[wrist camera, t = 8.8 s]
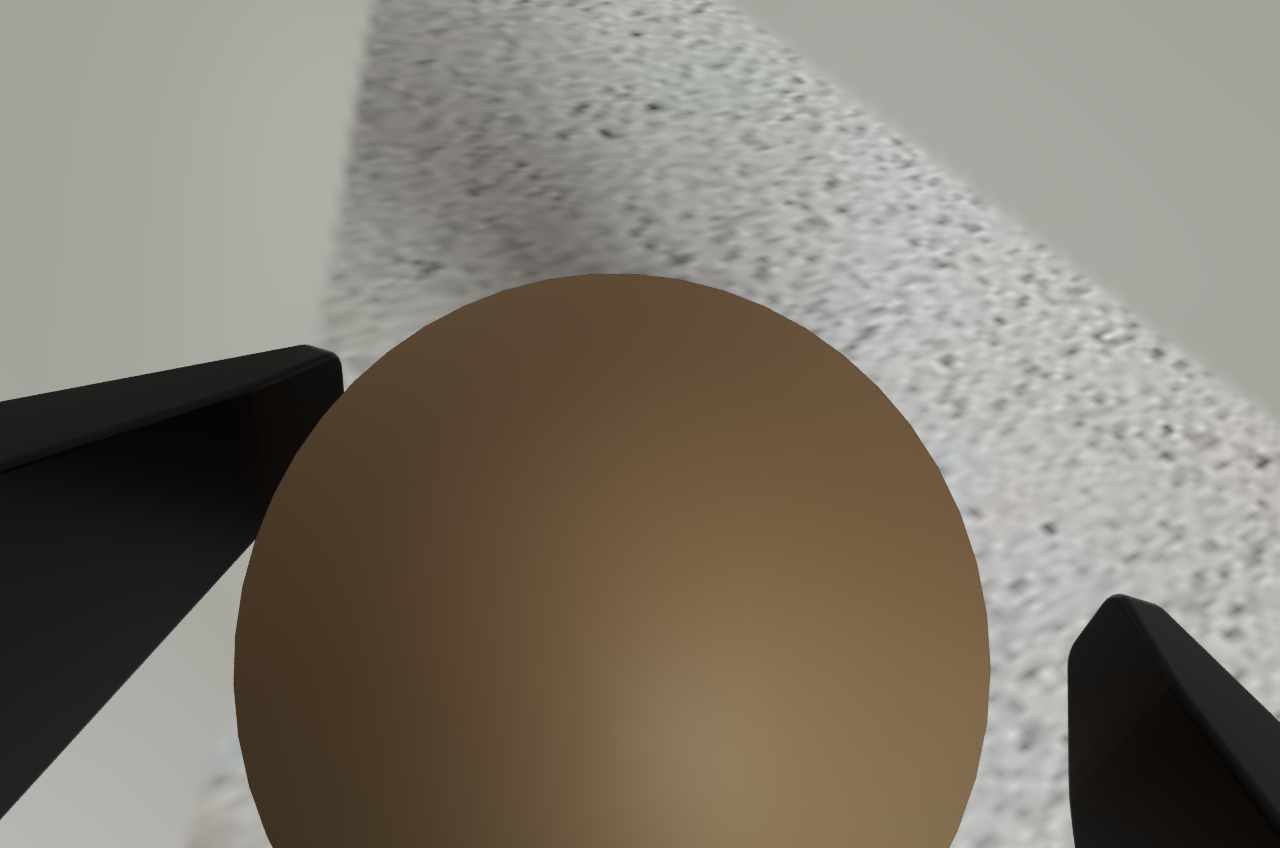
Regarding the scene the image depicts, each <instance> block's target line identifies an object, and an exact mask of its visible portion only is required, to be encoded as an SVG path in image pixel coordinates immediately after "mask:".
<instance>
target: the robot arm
mask: <svg viewBox="0 0 1280 848" xmlns="http://www.w3.org/2000/svg"><path fill="white" fill-rule="evenodd" d="M343 393H344V387H343V374H342V365H341V361H340V359H339V357H338V356H337V355H336V354H335V353H333V352H330V351H327V350H324V349H320V348H317V347H314V346H310V345H298V346H293V347H288V348H283V349H277V350H271V351H266V352H262V353H256V354H250V355H245V356H240V357H235V358H229V359H224V360H219V361H214V362H208V363H203V364H197V365H192V366H187V367H181V368H176V369H171V370H166V371H160V372H156V373H150V374H144V375H139V376H134V377H128V378H123V379H118V380H113V381H107V382H102V383H97V384H91V385H86V386H81V387H76V388H70V389H65V390H60V391H55V392H49V393H44V394H38V395H33V396H28V397H23V398H18V399H12V400H7V401H2V402H0V820H1V818H2V817H3V816H4V815H5V814H6V813H7V812H8V811H9V810H10V808H12V806H13V805H14V804H15V803H16V802H17V801H18V800H19V799H20V798H21V797H22V795H23V794H24V793H25V792H26V791H27V790H28V789H29V788H30V787H31V785H32V784H33V783H34V782H35V781H36V780H37V779H38V778H39V776H41V774H42V773H43V772H44V771H45V770H46V769H47V768H48V767H49V766H50V765H51V764H52V762H53V761H54V760H55V759H56V758H57V757H58V756H59V755H60V754H61V752H62V751H63V750H64V749H65V748H66V747H67V746H68V745H69V744H70V743H71V742H72V740H73V739H74V738H75V737H76V736H77V735H78V734H79V733H80V732H81V731H82V729H83V728H84V727H85V726H86V725H87V724H88V723H89V722H90V721H91V720H92V718H93V717H94V716H95V715H96V714H97V713H98V712H99V711H100V710H101V709H102V707H103V706H104V705H105V704H106V703H107V702H108V701H109V700H110V699H111V698H112V696H113V695H114V694H115V693H116V692H117V691H118V690H119V689H120V687H122V686H123V684H124V683H125V682H126V681H127V680H128V679H129V678H130V677H131V676H132V674H133V673H134V672H135V671H136V670H137V669H138V668H139V667H140V666H141V665H142V664H143V662H144V661H145V660H146V659H147V658H148V657H149V656H150V655H151V654H152V652H153V651H154V650H155V649H156V648H157V647H158V646H159V645H160V644H161V642H162V641H163V640H164V639H165V638H166V637H167V636H168V635H169V634H170V633H171V632H172V631H173V629H174V628H175V627H176V626H177V625H178V624H179V623H180V622H181V620H183V618H184V617H185V616H186V615H187V614H188V613H189V612H190V611H191V610H192V609H193V607H194V606H195V605H196V604H197V603H198V602H199V601H200V600H201V599H202V598H203V596H204V595H205V594H206V593H207V592H208V591H209V590H210V589H211V588H212V587H213V585H214V584H215V583H216V582H217V581H218V580H219V579H220V578H221V577H222V576H223V574H224V573H225V572H226V571H227V570H228V569H229V568H230V567H231V566H232V564H233V563H234V562H235V561H236V560H237V559H238V558H239V557H240V556H241V555H242V554H243V552H244V551H245V550H246V549H247V548H248V547H249V546H250V545H251V544H252V542H253V541H254V540H255V539H256V537H257V535H258V532H259V530H260V527H261V525H262V522H263V520H264V517H265V515H266V512H267V510H268V507H269V505H270V502H271V500H272V497H273V495H274V493H275V491H276V490H277V488H278V486H279V484H280V482H281V480H282V479H283V477H284V475H285V473H286V471H287V469H288V468H289V466H290V464H291V462H292V460H293V458H294V457H295V455H296V453H297V452H298V450H299V449H300V448H301V446H302V445H303V443H304V442H305V441H306V439H307V438H308V436H309V435H310V433H311V432H312V431H313V429H314V428H315V426H316V425H317V424H318V422H319V421H320V419H321V418H322V416H323V415H324V414H325V413H326V412H327V411H328V410H329V409H330V408H331V406H332V405H333V404H334V403H335V402H336V401H337V400H338V399H339V398H340V396H341V395H342V394H343ZM1068 775H1069V800H1070V809H1071V819H1072V828H1073V835H1074V843H1075V848H1280V722H1279V721H1278V720H1277V719H1276V718H1275V717H1274V716H1273V715H1272V714H1271V713H1270V712H1269V711H1268V710H1267V709H1266V708H1265V707H1264V706H1263V705H1262V704H1261V703H1260V702H1259V701H1258V700H1257V699H1255V698H1254V697H1253V696H1252V695H1251V694H1250V693H1249V692H1248V691H1247V690H1246V689H1245V688H1244V687H1243V686H1242V685H1241V684H1240V683H1239V682H1238V681H1237V680H1236V679H1235V678H1234V677H1233V676H1232V675H1231V674H1230V673H1229V672H1228V671H1227V670H1226V669H1224V668H1223V667H1222V666H1221V665H1220V664H1219V663H1218V662H1217V661H1216V660H1215V659H1214V658H1213V657H1212V656H1211V655H1210V654H1209V653H1208V652H1207V651H1206V650H1205V649H1204V648H1203V647H1202V646H1201V645H1200V644H1199V643H1198V642H1197V641H1196V640H1195V639H1194V638H1192V637H1191V636H1190V635H1189V634H1188V633H1187V632H1186V631H1185V630H1184V629H1183V628H1182V627H1181V626H1180V625H1179V624H1178V623H1177V622H1176V621H1175V620H1174V619H1173V618H1172V617H1171V616H1170V615H1169V614H1168V613H1167V612H1166V611H1165V610H1163V609H1162V608H1161V607H1160V606H1158V605H1156V604H1153V603H1150V602H1147V601H1143V600H1140V599H1137V598H1134V597H1130V596H1127V595H1124V594H1115V595H1112V596H1110V597H1109V598H1107V599H1106V600H1105V601H1104V603H1103V604H1102V605H1101V607H1100V608H1099V609H1098V611H1097V612H1096V613H1095V615H1094V616H1093V617H1092V619H1091V620H1090V622H1089V623H1088V624H1087V626H1086V627H1085V628H1084V630H1083V631H1082V632H1081V634H1080V635H1079V637H1078V638H1077V639H1076V641H1075V642H1074V644H1073V646H1072V648H1071V650H1070V654H1069V658H1068Z"/></svg>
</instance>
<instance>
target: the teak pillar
mask: <svg viewBox="0 0 1280 848" xmlns="http://www.w3.org/2000/svg"><path fill="white" fill-rule="evenodd" d="M241 594H242V595H241V600H240V608H239V614H238V620H237V627H236V634H235V658H234V694H235V705H236V716H237V727H238V737H239V742H240V746H241V751H242V755H243V760H244V765H245V769H246V774H247V778H248V783H249V787H250V790H251V793H252V796H253V798H254V801H255V804H256V807H257V810H258V813H259V815H260V818H261V821H262V824H263V827H264V829H265V832H266V835H267V837H268V839H269V841H270V843H271V845H272V847H273V848H949V847H950V845H951V843H952V841H953V839H954V837H955V835H956V833H957V831H958V828H959V826H960V823H961V820H962V817H963V814H964V811H965V808H966V805H967V802H968V800H969V797H970V794H971V791H972V788H973V785H974V782H975V779H976V775H977V770H978V765H979V760H980V755H981V750H982V745H983V740H984V735H985V730H986V725H987V715H988V699H989V684H990V669H991V668H990V653H989V638H988V623H987V612H986V607H985V602H984V597H983V592H982V587H981V582H980V577H979V572H978V566H977V562H976V559H975V556H974V553H973V550H972V547H971V544H970V541H969V538H968V535H967V532H966V529H965V526H964V523H963V520H962V517H961V514H960V512H959V509H958V507H957V505H956V503H955V501H954V499H953V497H952V495H951V493H950V491H949V489H948V487H947V485H946V483H945V481H944V478H943V476H942V474H941V472H940V470H939V468H938V466H937V465H936V463H935V462H934V460H933V459H932V457H931V455H930V454H929V452H928V451H927V449H926V448H925V446H924V445H923V443H922V442H921V440H920V439H919V437H918V436H917V434H916V432H915V431H914V429H913V428H912V426H911V425H910V424H909V422H908V421H907V420H906V419H905V418H904V417H903V415H902V414H901V413H900V412H899V411H898V409H897V408H896V407H895V406H894V405H893V404H892V402H891V401H890V400H889V399H888V398H887V396H886V395H885V394H884V393H883V392H882V391H881V389H880V388H879V387H878V386H877V385H876V384H874V383H873V382H872V381H871V380H870V379H869V378H868V377H867V376H866V375H865V374H864V373H862V372H861V371H860V370H859V369H858V368H857V367H856V366H855V365H854V364H853V363H852V362H850V361H849V360H848V359H847V358H846V357H845V356H844V355H843V354H841V353H840V352H838V351H837V350H836V349H834V348H833V347H831V346H830V345H828V344H827V343H826V342H824V341H823V340H821V339H820V338H819V337H817V336H816V335H814V334H813V333H812V332H810V331H809V330H807V329H806V328H804V327H802V326H800V325H799V324H797V323H795V322H793V321H791V320H789V319H787V318H786V317H784V316H782V315H780V314H778V313H776V312H774V311H772V310H771V309H769V308H767V307H765V306H762V305H760V304H757V303H755V302H752V301H749V300H747V299H744V298H742V297H739V296H736V295H734V294H731V293H729V292H726V291H723V290H720V289H716V288H712V287H708V286H704V285H700V284H696V283H692V282H688V281H684V280H680V279H672V278H664V277H655V276H647V275H639V274H588V275H580V276H572V277H565V278H557V279H549V280H544V281H540V282H536V283H532V284H528V285H524V286H520V287H516V288H512V289H508V290H504V291H502V292H499V293H496V294H494V295H491V296H489V297H486V298H483V299H481V300H478V301H476V302H473V303H470V304H468V305H465V306H463V307H461V308H459V309H457V310H455V311H453V312H451V313H450V314H448V315H446V316H444V317H442V318H440V319H438V320H436V321H434V322H433V323H431V324H429V325H427V326H425V327H423V328H422V329H420V330H419V331H417V332H416V333H415V334H413V335H412V336H410V337H409V338H407V339H406V340H404V341H403V342H402V343H400V344H399V345H397V346H396V347H394V348H393V349H391V350H390V351H389V352H387V353H386V354H385V355H384V356H383V357H381V358H380V359H379V360H378V361H377V362H376V363H375V364H373V365H372V366H371V367H370V368H369V369H368V370H367V371H366V372H364V373H363V374H362V375H361V376H360V377H359V378H358V379H356V380H355V381H354V382H353V383H352V384H351V385H350V386H349V388H348V389H347V390H346V391H345V392H344V393H343V394H342V395H341V396H340V398H339V399H338V400H337V401H336V402H335V403H334V404H333V405H332V406H331V408H330V409H329V410H328V411H327V412H326V413H325V414H324V415H323V416H322V418H321V419H320V421H319V422H318V424H317V425H316V426H315V428H314V429H313V431H312V432H311V433H310V435H309V436H308V438H307V439H306V441H305V442H304V443H303V445H302V446H301V448H300V449H299V450H298V452H297V453H296V455H295V457H294V458H293V460H292V462H291V464H290V466H289V468H288V469H287V471H286V473H285V475H284V477H283V479H282V480H281V482H280V484H279V486H278V488H277V490H276V491H275V493H274V495H273V497H272V500H271V502H270V505H269V507H268V510H267V512H266V515H265V517H264V520H263V522H262V525H261V527H260V530H259V532H258V535H257V537H256V539H255V543H254V547H253V550H252V554H251V558H250V561H249V565H248V569H247V573H246V576H245V580H244V583H243V587H242V593H241Z"/></svg>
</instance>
